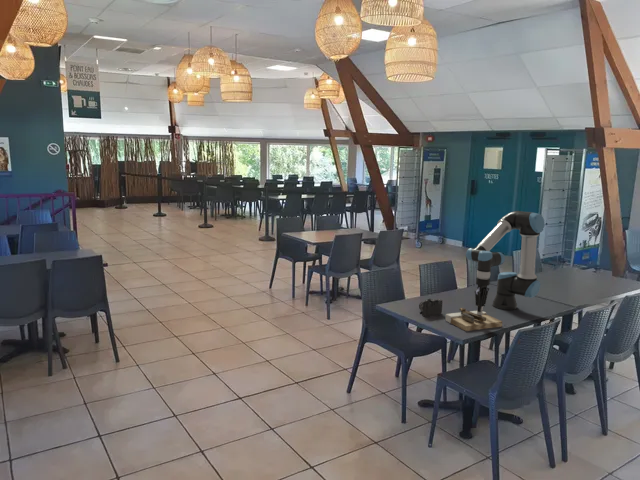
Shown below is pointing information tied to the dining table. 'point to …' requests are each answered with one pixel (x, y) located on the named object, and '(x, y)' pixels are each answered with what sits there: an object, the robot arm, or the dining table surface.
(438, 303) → the camera
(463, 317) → the bar
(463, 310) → the swing bar
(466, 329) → the door slab
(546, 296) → the dining table surface
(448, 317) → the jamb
